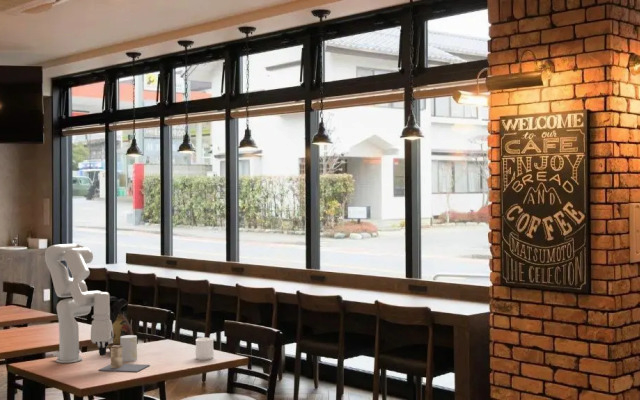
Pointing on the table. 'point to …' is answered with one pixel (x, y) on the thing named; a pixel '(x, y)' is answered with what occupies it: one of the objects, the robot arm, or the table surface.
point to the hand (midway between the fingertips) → (102, 355)
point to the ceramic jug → (119, 322)
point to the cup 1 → (129, 348)
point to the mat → (125, 368)
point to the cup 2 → (204, 348)
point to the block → (116, 356)
